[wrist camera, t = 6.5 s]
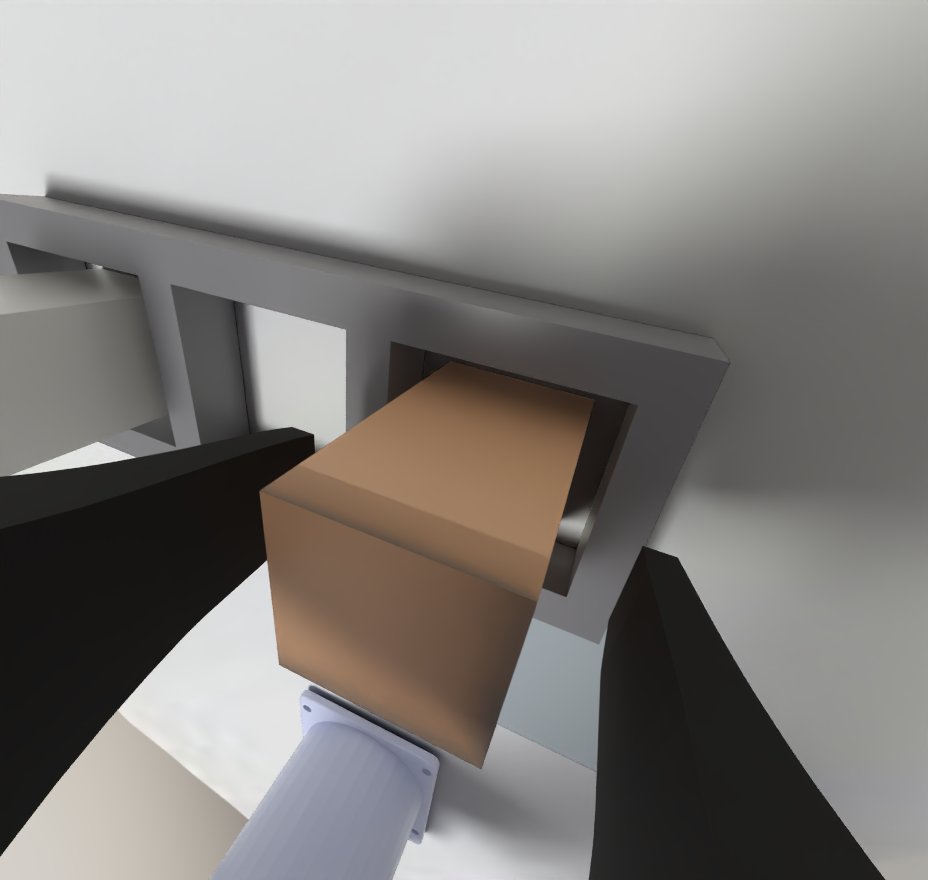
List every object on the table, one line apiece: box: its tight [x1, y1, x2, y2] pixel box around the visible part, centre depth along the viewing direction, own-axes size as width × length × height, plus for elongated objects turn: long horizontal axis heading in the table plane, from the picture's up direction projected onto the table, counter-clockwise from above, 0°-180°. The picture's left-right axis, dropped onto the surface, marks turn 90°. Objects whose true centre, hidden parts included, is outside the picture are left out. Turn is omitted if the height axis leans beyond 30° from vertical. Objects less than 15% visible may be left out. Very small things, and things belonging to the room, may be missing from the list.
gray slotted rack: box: [0, 194, 730, 645], centre depth 13 cm, size 8×22×2 cm, turn 82°
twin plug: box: [0, 269, 169, 477], centre depth 13 cm, size 4×4×7 cm
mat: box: [497, 618, 607, 772], centre depth 15 cm, size 8×8×1 cm
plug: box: [259, 361, 595, 769], centre depth 9 cm, size 4×4×7 cm
